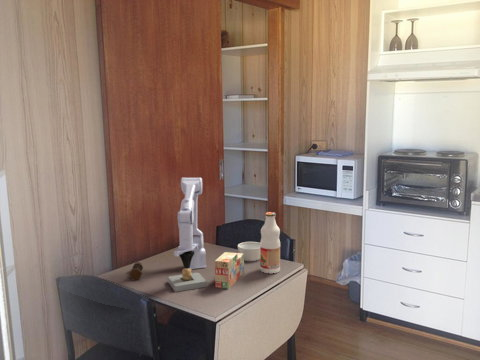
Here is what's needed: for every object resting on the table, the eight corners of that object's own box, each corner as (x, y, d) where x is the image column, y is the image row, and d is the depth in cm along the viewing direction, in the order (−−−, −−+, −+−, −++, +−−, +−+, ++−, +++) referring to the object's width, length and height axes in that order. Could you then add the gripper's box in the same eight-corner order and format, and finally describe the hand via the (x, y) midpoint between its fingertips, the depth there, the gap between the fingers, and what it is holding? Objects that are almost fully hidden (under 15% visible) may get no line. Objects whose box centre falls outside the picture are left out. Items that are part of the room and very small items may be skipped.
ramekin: (232, 259, 223) (232, 246, 222) (246, 252, 234) (246, 240, 233) (254, 264, 216) (254, 250, 215) (267, 257, 227) (267, 244, 226)
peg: (189, 281, 193) (188, 267, 192) (193, 284, 189) (192, 270, 189) (181, 283, 190) (180, 269, 190) (185, 286, 187) (184, 272, 186)
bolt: (140, 272, 210) (137, 282, 196) (130, 267, 209) (127, 278, 195) (146, 261, 210) (143, 271, 195) (136, 257, 209) (133, 266, 194)
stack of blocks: (231, 271, 206) (231, 246, 205) (244, 272, 204) (244, 247, 203) (215, 287, 186) (214, 260, 185) (228, 289, 184) (228, 261, 183)
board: (198, 277, 198) (198, 272, 198) (206, 286, 187) (206, 281, 187) (168, 281, 193) (168, 276, 192) (174, 291, 182) (174, 286, 181)
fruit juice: (277, 275, 200) (277, 215, 196) (257, 272, 203) (257, 214, 199) (282, 268, 209) (282, 211, 205) (263, 266, 212) (263, 210, 208)
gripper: (189, 232, 195) (189, 261, 197) (167, 240, 183) (168, 271, 185) (201, 234, 191) (202, 264, 193) (181, 242, 179) (181, 274, 181)
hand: (186, 267), depth 189 cm, fingers closed
